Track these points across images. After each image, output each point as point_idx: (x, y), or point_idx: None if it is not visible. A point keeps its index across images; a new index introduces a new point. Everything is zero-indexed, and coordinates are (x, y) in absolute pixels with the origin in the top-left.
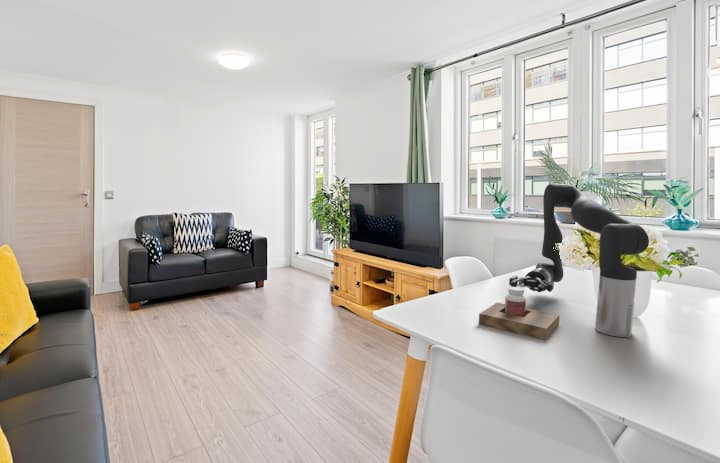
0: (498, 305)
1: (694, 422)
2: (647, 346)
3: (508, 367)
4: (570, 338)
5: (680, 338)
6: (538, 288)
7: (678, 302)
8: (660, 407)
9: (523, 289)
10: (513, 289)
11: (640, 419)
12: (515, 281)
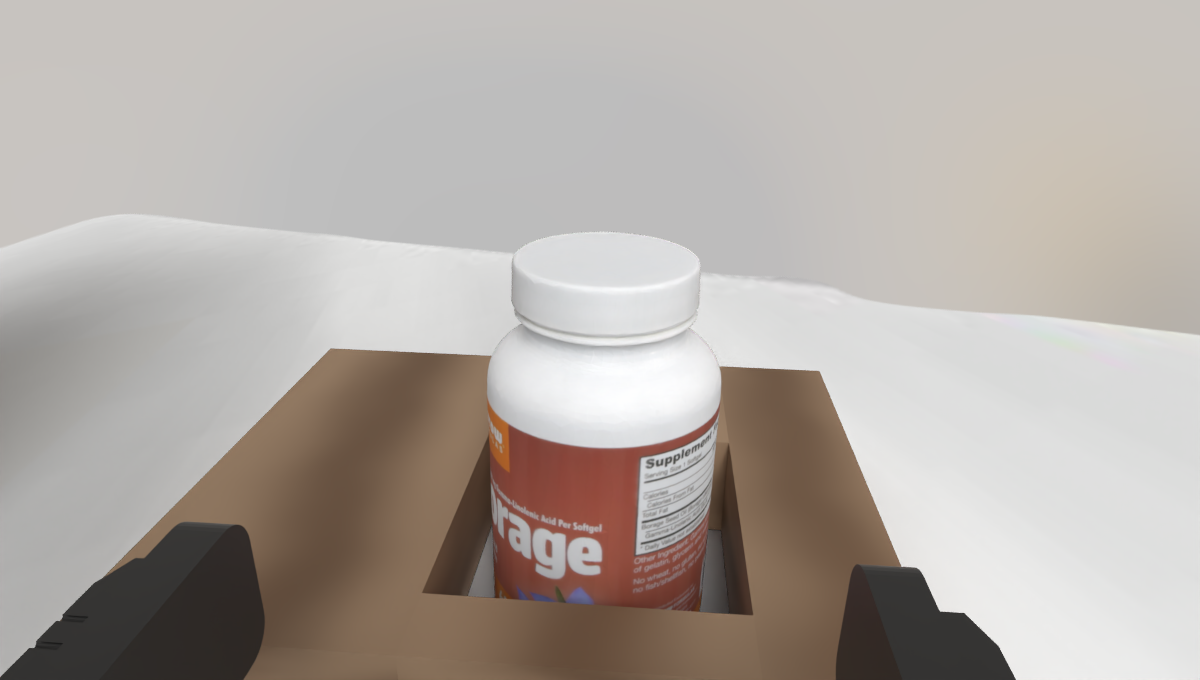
0: (843, 587)
1: (55, 242)
2: None
3: (508, 259)
4: (135, 502)
5: None
6: (236, 555)
7: None
8: (100, 253)
9: (518, 258)
10: (623, 237)
11: (198, 227)
12: (891, 644)
